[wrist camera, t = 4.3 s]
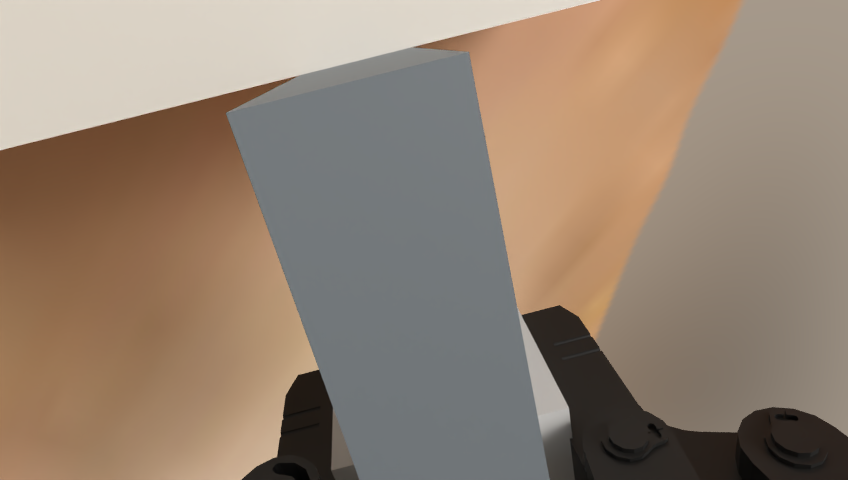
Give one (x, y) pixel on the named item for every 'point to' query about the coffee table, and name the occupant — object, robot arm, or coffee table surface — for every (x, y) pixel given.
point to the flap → (333, 193)
